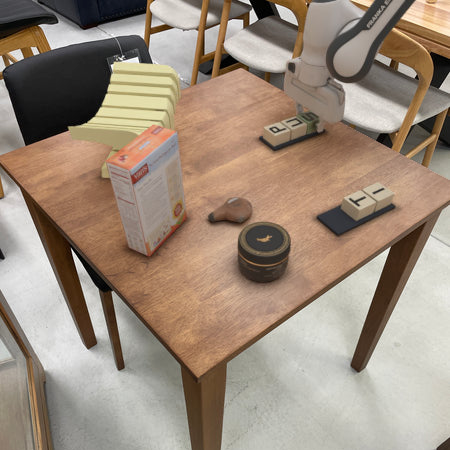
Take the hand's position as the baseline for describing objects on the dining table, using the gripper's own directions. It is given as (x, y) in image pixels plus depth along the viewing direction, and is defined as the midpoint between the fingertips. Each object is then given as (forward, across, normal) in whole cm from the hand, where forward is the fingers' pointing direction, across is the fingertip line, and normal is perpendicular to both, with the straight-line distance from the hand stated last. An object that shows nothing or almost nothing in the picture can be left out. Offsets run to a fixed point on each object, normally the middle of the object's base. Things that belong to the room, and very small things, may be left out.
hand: (309, 124), depth 118 cm
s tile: (+1, 0, 0) cm, 1 cm away
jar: (+2, -35, +40) cm, 54 cm away
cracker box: (+2, -15, +54) cm, 56 cm away
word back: (+2, 0, +6) cm, 6 cm away
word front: (+2, -33, +14) cm, 36 cm away
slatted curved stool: (+2, +10, +46) cm, 47 cm away
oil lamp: (+2, -19, +38) cm, 42 cm away
